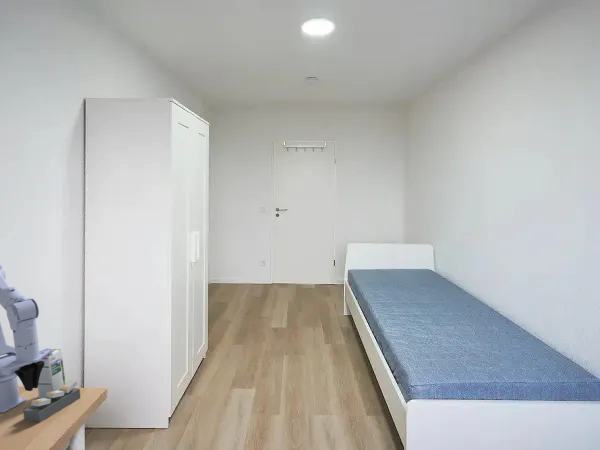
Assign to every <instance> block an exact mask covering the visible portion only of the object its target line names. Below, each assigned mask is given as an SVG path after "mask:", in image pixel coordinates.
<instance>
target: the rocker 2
mask: <svg viewBox="0 0 600 450" xmlns="http://www.w3.org/2000/svg"><path fill="white" fill-rule="evenodd" d="M60 396H64V391H59V390H57V391H53V392H48V393H46V397H49V398H56V397H60Z"/></svg>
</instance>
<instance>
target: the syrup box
mask: <svg viewBox="0 0 600 450" xmlns="http://www.w3.org/2000/svg"><path fill="white" fill-rule="evenodd" d="M51 349H52V354H53V355H51V356H47V357H45V358H43V359H41V361H44V367H43V368H42V371H41V374H40V377H39V382H38V388H37V392H38V398H39V399H42V398H46V393H48V392H53V391H57V390H60V388H61V387H63V386H64V385H65V384H66V378H65V370H64V369H65V368H64V360H63V354H62V353H63V352H62V349H57V348H51Z"/></svg>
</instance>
